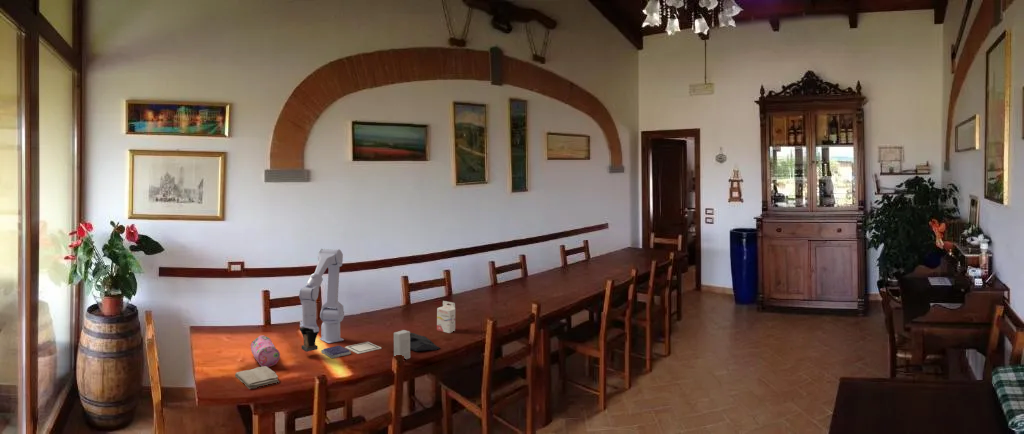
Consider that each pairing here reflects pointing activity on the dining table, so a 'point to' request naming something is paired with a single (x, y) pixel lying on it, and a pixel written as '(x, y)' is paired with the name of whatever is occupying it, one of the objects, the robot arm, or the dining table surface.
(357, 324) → the dining table surface
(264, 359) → the pencil case
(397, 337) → the skincare box
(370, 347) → the print card
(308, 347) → the stamp
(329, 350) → the ink pad
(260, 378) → the washcloth
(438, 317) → the ink cartridge box
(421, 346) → the dark slate chunk
